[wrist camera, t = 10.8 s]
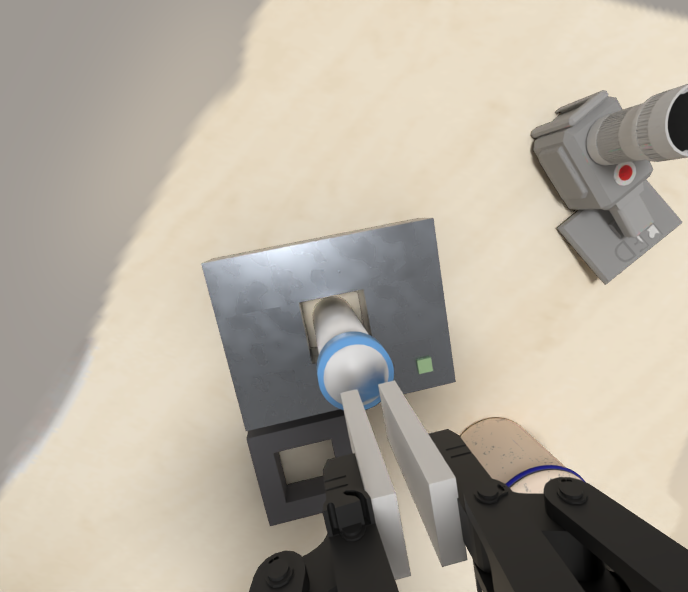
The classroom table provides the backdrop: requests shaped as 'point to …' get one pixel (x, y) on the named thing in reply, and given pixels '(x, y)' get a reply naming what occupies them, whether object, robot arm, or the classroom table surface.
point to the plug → (348, 354)
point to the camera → (613, 173)
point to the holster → (265, 450)
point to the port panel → (322, 281)
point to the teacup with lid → (513, 455)
